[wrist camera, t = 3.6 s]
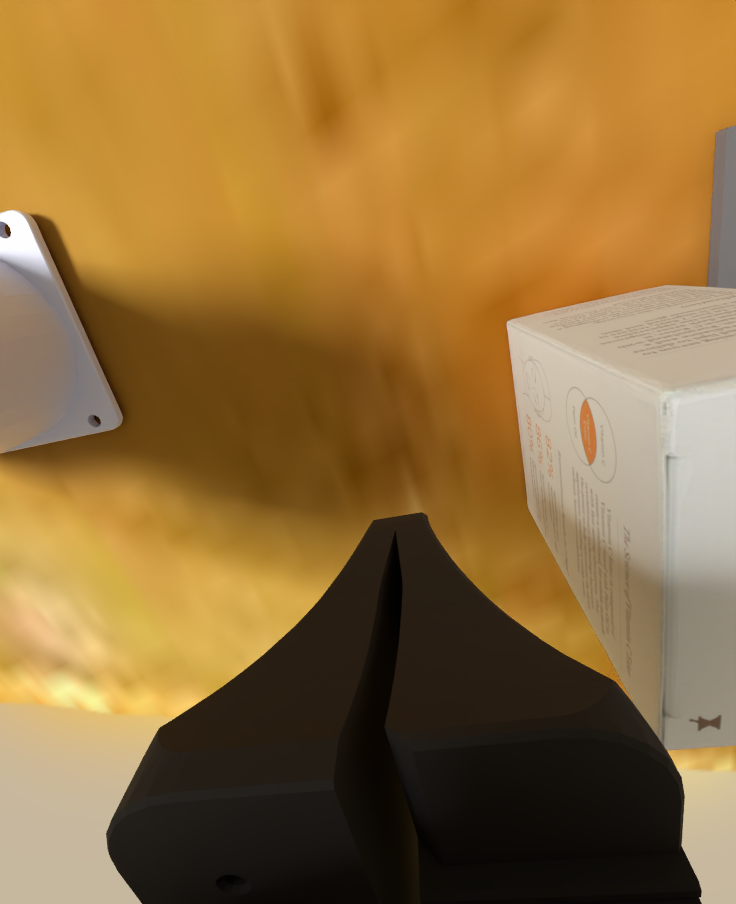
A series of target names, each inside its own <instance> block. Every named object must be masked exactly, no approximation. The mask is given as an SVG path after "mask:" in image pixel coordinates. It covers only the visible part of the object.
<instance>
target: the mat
mask: <svg viewBox="0 0 736 904" xmlns="http://www.w3.org/2000/svg"><path fill="white" fill-rule="evenodd" d="M708 287H717V288H732V289H736V126H732V127H728V128H725V129H723V130H721V131H718V132H716V144H715V162H714V180H713V198H712V216H711V234H710V251H709V269H708Z"/></svg>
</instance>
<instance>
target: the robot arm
mask: <svg viewBox="0 0 736 904" xmlns="http://www.w3.org/2000/svg"><path fill="white" fill-rule="evenodd" d="M6 224H8V226H9V227H10V230H11V235H10V237H9V236H8V235H7V234H6V231H5V225H6ZM94 415H96V416H97V417H98V418H99V419H100V421H101V424H99V423H97V422H96V421H95V419H94ZM122 421H123V416H122V413H121V411H120V408H119V406H118V404H117V402H116V400H115V397H114V395H113V393H112V391H111V388H110V386H109V384H108V382H107V379H106V377H105V375H104V373H103V371H102V368H101V366H100V364H99V362H98V359H97V357H96V355H95V353H94V351H93V348H92V346H91V344H90V342H89V339H88V337H87V335H86V333H85V330H84V328H83V326H82V324H81V322H80V319H79V317H78V315H77V313H76V310H75V308H74V306H73V304H72V302H71V299H70V297H69V295H68V293H67V290H66V288H65V286H64V284H63V281H62V279H61V277H60V275H59V273H58V270H57V268H56V266H55V264H54V261H53V259H52V257H51V255H50V253H49V250H48V248H47V246H46V244H45V241H44V239H43V237H42V235H41V232H40V230H39V228H38V226H37V224H36V222H35V220H34V219H33V217H31V216H30V215H29V214H28V213H26V212H23V211H18V210H9V211H5V212H2V213H0V453H4V452H9V451H14V450H19V449H23V448H28V447H33V446H38V445H42V444H47V443H52V442H57V441H62V440H66V439H71V438H76V437H81V436H85V435H90V434H95V433H100V432H104V431H109V430H113V429H115V428H117V427H118V426H120V425H121V423H122ZM683 813H684V790H683V784H682V777H681V776H680V774H679V772H678V771H677V769H676V767H675V765H674V763H673V761H672V759H671V757H670V755H669V754H668V752H667V750H666V749H665V747H664V745H663V744H662V743H661V741H660V740H659V738H658V737H657V735H656V734H655V732H654V731H653V730H652V728H651V727H650V725H649V724H648V723H647V721H646V720H645V718H644V717H643V716H642V714H641V713H640V712H639V710H638V709H637V708H636V706H635V705H634V704H633V703H632V701H631V700H630V699H629V698H628V696H627V695H626V694H625V693H624V691H623V690H622V689H621V688H620V687H619V685H618V684H617V683H616V682H615V681H613V680H612V679H610V678H608V677H606V676H604V675H602V674H600V673H598V672H596V671H595V670H593V669H591V668H589V667H587V666H585V665H583V664H581V663H579V662H578V661H576V660H574V659H572V658H570V657H568V656H566V655H564V654H563V653H561V652H559V651H558V650H556V649H555V648H553V647H552V646H550V645H548V644H547V643H545V642H544V641H542V640H541V639H539V638H538V637H537V636H535V635H534V634H533V633H531V632H530V631H528V630H527V629H526V628H524V627H523V626H522V625H520V624H519V623H518V622H516V621H515V620H513V619H512V618H511V617H509V616H508V615H507V614H506V613H505V612H503V611H502V610H501V609H500V608H499V607H498V606H496V605H495V604H494V603H493V602H492V601H491V600H490V599H488V598H487V597H486V596H485V595H484V594H483V593H482V592H481V591H480V590H479V589H478V588H477V587H476V586H475V585H474V584H473V583H472V582H471V581H470V580H469V579H468V578H467V576H466V575H465V574H464V573H463V572H462V571H461V570H460V568H459V567H458V566H457V565H456V564H455V562H454V561H453V560H452V559H451V557H450V556H449V555H448V553H447V552H446V550H445V549H444V548H443V546H442V545H441V543H440V542H439V540H438V539H437V537H436V535H435V534H434V532H433V530H432V528H431V526H430V524H429V521H428V517H427V515H425V514H424V513H422V512H421V513H415V514H409V515H403V516H397V517H391V518H385V519H378V520H374V521H373V522H372V523H371V525H370V526H369V528H368V530H367V531H366V533H365V535H364V537H363V538H362V540H361V542H360V543H359V545H358V546H357V548H356V550H355V551H354V553H353V554H352V556H351V557H350V559H349V560H348V562H347V563H346V565H345V566H344V568H343V569H342V571H341V572H340V574H339V575H338V576H337V578H336V579H335V580H334V582H333V583H332V584H331V586H330V587H329V588H328V590H327V591H326V592H325V594H324V595H323V596H322V597H321V599H320V600H319V601H318V602H317V603H316V604H315V606H314V607H313V608H312V609H311V610H310V611H309V612H308V613H307V614H306V615H305V616H304V617H303V618H302V619H301V621H300V622H299V623H298V624H297V625H296V626H295V627H294V628H293V629H291V630H290V631H289V632H288V633H287V634H286V635H285V636H284V637H283V638H282V639H280V640H279V641H278V642H277V643H276V644H275V645H274V646H273V647H272V648H271V649H269V650H268V651H267V652H266V653H265V654H264V655H263V656H262V657H260V658H259V659H258V660H257V661H255V662H254V663H253V664H252V665H250V666H249V667H248V668H247V669H245V670H244V671H243V672H242V673H240V674H239V675H238V676H236V677H235V678H234V679H232V680H231V681H230V682H228V683H227V684H226V685H224V686H223V687H221V688H220V689H219V690H217V691H216V692H214V693H213V694H211V695H210V696H208V697H207V698H205V699H204V700H202V701H201V702H199V703H198V704H196V705H195V706H193V707H192V708H190V709H189V710H187V711H185V712H184V713H182V714H181V715H179V716H178V717H176V718H175V719H173V720H172V721H170V722H168V723H167V724H165V725H163V726H162V727H160V728H159V730H158V731H157V733H156V735H155V737H154V738H153V740H152V742H151V744H150V746H149V748H148V750H147V751H146V754H145V755H144V757H143V759H142V761H141V763H140V765H139V767H138V769H137V771H136V773H135V775H134V777H133V779H132V781H131V783H130V785H129V786H128V788H127V790H126V792H125V794H124V796H123V798H122V800H121V802H120V804H119V806H118V808H117V810H116V812H115V814H114V816H113V818H112V820H111V823H110V825H109V828H108V830H107V833H106V835H107V845H108V852H109V855H110V857H111V859H112V861H113V863H114V865H115V866H116V869H117V871H118V872H119V873H120V875H121V876H122V877H123V879H124V880H125V881H126V883H127V884H128V885H129V887H130V888H131V889H132V891H133V892H134V893H135V895H136V896H137V897H138V899H139V900H140V901H141V903H142V904H702V903H701V901H700V899H699V897H701V888H700V884H699V881H698V879H697V877H696V875H695V873H694V871H693V869H692V867H691V865H690V863H689V861H688V858H687V856H686V854H685V852H684V850H683V848H682V846H681V843H682V828H683Z"/></svg>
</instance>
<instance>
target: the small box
mask: <svg viewBox="0 0 736 904" xmlns="http://www.w3.org/2000/svg"><path fill="white" fill-rule="evenodd" d="M507 331H508V338H509V346H510V355H511V363H512V372H513V380H514V389H515V397H516V406H517V414H518V422H519V431H520V440H521V449H522V457H523V465H524V473H525V482H526V491H527V503H528V509H529V511H530V513H531V515H532V517H533V519H534V520H535V522H536V524H537V526H538V528H539V530H540V532H541V534H542V536H543V538H544V539H545V541H546V543H547V545H548V547H549V549H550V550H551V552H552V554H553V556H554V558H555V560H556V562H557V563H558V565H559V567H560V569H561V571H562V573H563V575H564V576H565V578H566V580H567V582H568V584H569V586H570V588H571V590H572V591H573V593H574V595H575V597H576V599H577V600H578V602H579V604H580V606H581V608H582V610H583V612H584V613H585V615H586V617H587V619H588V621H589V622H590V624H591V626H592V628H593V630H594V631H595V633H596V635H597V637H598V639H599V641H600V642H601V644H602V646H603V647H604V649H605V651H606V653H607V655H608V657H609V659H610V660H611V662H612V664H613V666H614V668H615V670H616V672H617V674H618V675H619V677H620V679H621V681H622V683H623V685H624V687H625V688H626V690H627V692H628V694H629V696H630V698H631V699H632V701H633V703H634V705H635V706H636V708H637V709H638V710H639V712H640V713H641V714H642V716H643V717H644V718H645V720H646V721H647V723H648V724H649V725H650V727H651V728H652V730H653V731H654V732H655V734H656V735H657V737H658V738H659V740H660V741H661V743H662V744H663V745H664V747H665V749H666V750H680V749H694V748H705V747H724V746H734V745H736V289H732V288H717V287H698V286H675V285H665V286H660V287H655V288H650V289H645V290H640V291H635V292H630V293H626V294H621V295H616V296H612V297H607V298H603V299H599V300H594V301H590V302H585V303H581V304H576V305H572V306H567V307H563V308H558V309H554V310H549V311H545V312H540V313H536V314H532V315H528V316H524V317H520V318H515V319H511V320H509V321H508V322H507Z"/></svg>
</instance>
